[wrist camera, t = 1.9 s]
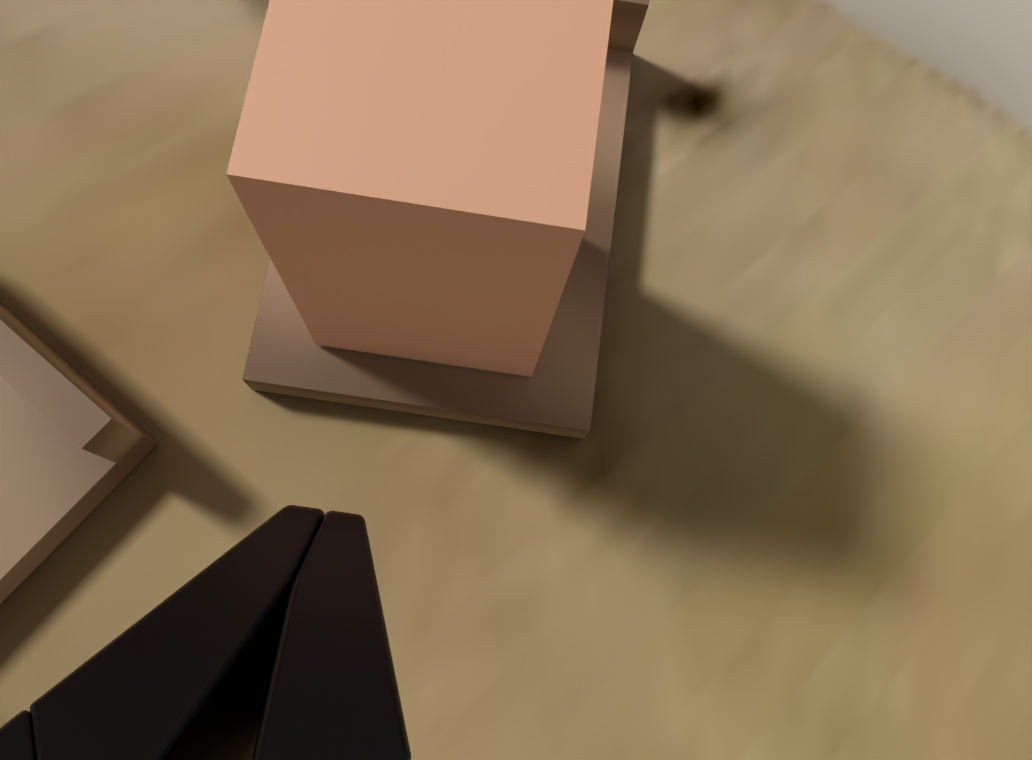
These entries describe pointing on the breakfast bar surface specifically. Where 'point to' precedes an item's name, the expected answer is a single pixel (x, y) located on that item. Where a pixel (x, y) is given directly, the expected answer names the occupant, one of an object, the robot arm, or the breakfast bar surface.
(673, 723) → the breakfast bar surface
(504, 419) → the plinth
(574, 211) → the pink box
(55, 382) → the plinth
